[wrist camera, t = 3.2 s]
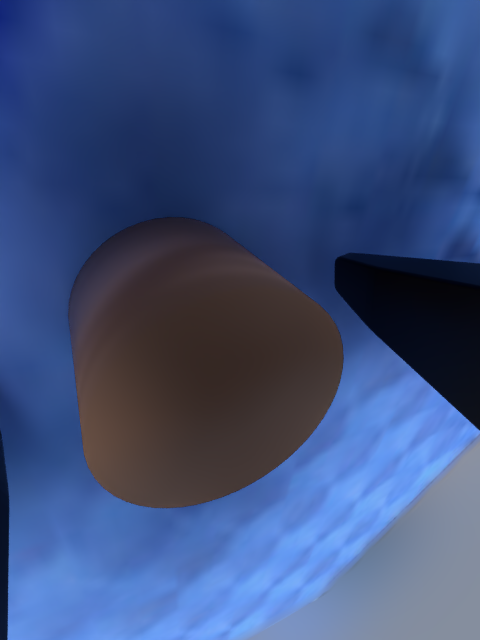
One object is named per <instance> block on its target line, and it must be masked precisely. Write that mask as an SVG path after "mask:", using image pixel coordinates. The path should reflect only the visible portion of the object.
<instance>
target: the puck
mask: <svg viewBox="0 0 480 640" xmlns="http://www.w3.org/2000/svg"><path fill="white" fill-rule="evenodd" d="M68 318H69V327H70V336H71V345H72V354H73V362H74V371H75V380H76V389H77V398H78V406H79V415H80V424H81V433H82V442H83V451H84V456H85V459H86V462H87V465H88V468H89V469H90V471H91V473H92V475H93V476H94V478H95V479H96V480H97V481H98V483H99V484H100V485H101V486H102V487H103V488H104V489H105V490H107V491H108V492H110V493H111V494H112V495H114V496H116V497H118V498H120V499H122V500H124V501H126V502H129V503H132V504H136V505H139V506H146V507H152V508H177V507H185V506H192V505H197V504H201V503H205V502H209V501H212V500H215V499H218V498H221V497H224V496H226V495H229V494H231V493H233V492H236V491H238V490H240V489H242V488H244V487H246V486H248V485H250V484H252V483H253V482H255V481H257V480H258V479H260V478H262V477H263V476H265V475H266V474H268V473H269V472H271V471H272V470H274V469H275V468H276V467H278V466H279V465H280V464H281V463H283V462H284V461H285V460H286V459H287V458H289V457H290V456H291V455H292V454H293V453H294V452H295V451H296V450H297V449H298V448H299V447H300V446H301V445H302V444H303V443H304V442H305V441H306V440H307V439H308V438H309V436H310V435H311V434H312V433H313V431H314V430H315V429H316V428H317V426H318V425H319V423H320V422H321V420H322V419H323V418H324V416H325V414H326V412H327V411H328V409H329V407H330V405H331V403H332V401H333V399H334V397H335V394H336V392H337V389H338V386H339V383H340V379H341V374H342V369H343V345H342V341H341V336H340V333H339V331H338V329H337V326H336V324H335V323H334V321H333V320H332V318H331V317H330V315H329V314H328V313H327V312H326V311H325V310H324V309H323V308H322V307H321V306H320V305H319V304H317V303H316V302H315V301H314V300H312V299H311V298H310V297H308V296H307V295H306V294H304V293H303V292H302V291H300V290H299V289H298V288H297V287H295V286H294V285H293V284H291V283H290V282H289V281H287V280H286V279H285V278H283V277H282V276H281V275H279V274H278V273H277V272H276V271H274V270H273V269H272V268H270V267H269V266H268V265H266V264H265V263H264V262H262V261H261V260H260V259H259V258H257V257H256V256H255V255H253V254H252V253H251V252H249V251H248V250H247V249H245V248H244V247H243V246H241V245H240V244H239V243H238V242H236V241H235V240H234V239H232V238H231V237H230V236H228V235H227V234H226V233H224V232H223V231H221V230H220V229H218V228H216V227H214V226H212V225H210V224H208V223H205V222H202V221H198V220H195V219H189V218H181V217H167V218H157V219H152V220H148V221H144V222H141V223H138V224H135V225H133V226H130V227H128V228H126V229H124V230H122V231H120V232H119V233H117V234H115V235H114V236H112V237H111V238H110V239H108V240H107V241H105V242H104V243H103V244H102V245H101V246H100V247H99V248H98V249H97V250H96V251H95V252H93V253H92V255H91V256H90V257H89V259H88V260H87V261H86V262H85V264H84V265H83V267H82V268H81V270H80V272H79V274H78V275H77V277H76V280H75V282H74V285H73V287H72V291H71V295H70V299H69V309H68Z"/></svg>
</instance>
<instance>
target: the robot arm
mask: <svg viewBox="0 0 480 640" xmlns="http://www.w3.org/2000/svg"><path fill="white" fill-rule="evenodd" d="M334 283H335V288H336V290H337V292H338V293H339V294H340V296H341V297H342V298H343V299H344V300H345V301H346V302H347V304H348V305H349V306H350V307H351V308H352V309H353V310H354V312H355V313H356V314H357V315H358V316H359V317H360V318H361V320H362V321H363V322H364V323H365V324H366V325H367V326H368V327H369V328H370V329H371V330H372V331H373V332H374V333H375V334H376V335H377V336H378V337H379V338H380V339H381V340H382V341H383V342H384V343H385V344H387V345H388V346H389V347H390V348H391V349H392V350H393V351H394V352H395V353H396V354H397V355H398V356H400V357H401V358H402V359H403V360H404V361H405V362H406V363H407V364H408V365H409V366H410V367H411V368H412V369H414V370H415V371H416V372H417V373H418V374H419V375H420V376H421V377H422V378H423V379H424V380H425V381H427V382H428V383H429V384H430V385H431V386H432V387H433V388H434V389H435V390H436V391H437V392H438V393H440V394H441V395H442V396H443V397H444V398H445V399H446V400H447V401H448V402H449V403H450V404H451V405H453V406H454V407H455V408H456V409H457V410H458V411H459V412H460V413H461V414H462V415H463V416H464V417H466V418H467V419H468V420H469V421H470V422H471V423H472V424H473V425H474V426H475V427H476V428H477V429H478V430H480V264H479V263H467V262H455V261H443V260H432V259H420V258H408V257H396V256H384V255H372V254H360V253H347V254H345V255H342V256H340V257H338V258H337V259H336V260H335V282H334ZM8 562H9V492H8V482H7V474H6V466H5V458H4V450H3V442H2V434H1V430H0V640H7V634H8Z"/></svg>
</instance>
